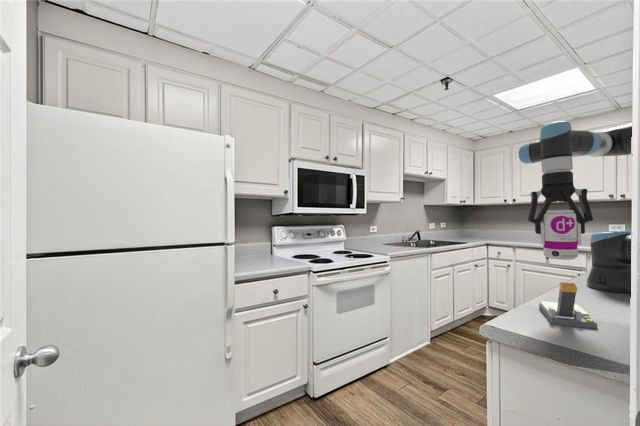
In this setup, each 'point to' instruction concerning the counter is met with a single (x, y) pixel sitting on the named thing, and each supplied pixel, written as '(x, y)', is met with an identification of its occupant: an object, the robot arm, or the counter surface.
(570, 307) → the breaker lever
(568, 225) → the supplement can
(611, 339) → the counter surface
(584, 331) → the counter surface
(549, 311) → the panel
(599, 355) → the counter surface
